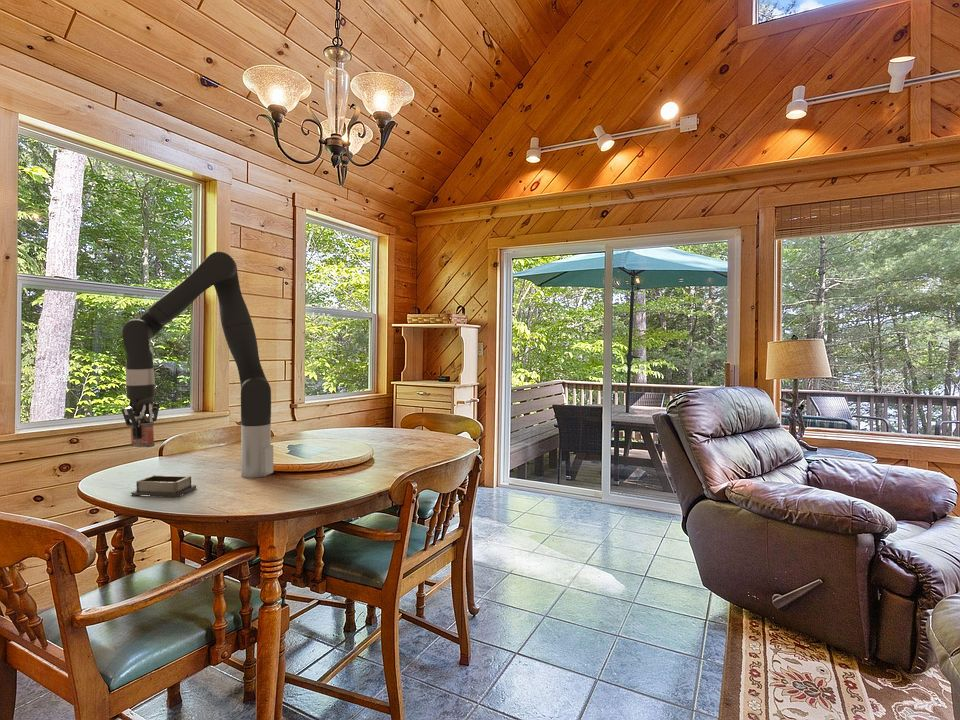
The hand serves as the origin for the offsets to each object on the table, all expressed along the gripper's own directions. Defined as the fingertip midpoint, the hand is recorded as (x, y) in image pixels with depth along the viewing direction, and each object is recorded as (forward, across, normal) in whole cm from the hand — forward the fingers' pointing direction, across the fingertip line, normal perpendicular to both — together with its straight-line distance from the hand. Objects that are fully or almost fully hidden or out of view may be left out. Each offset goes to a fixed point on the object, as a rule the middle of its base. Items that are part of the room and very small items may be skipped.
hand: (142, 437), depth 162 cm
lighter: (+3, 0, 0) cm, 3 cm away
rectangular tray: (+15, -8, -13) cm, 21 cm away
